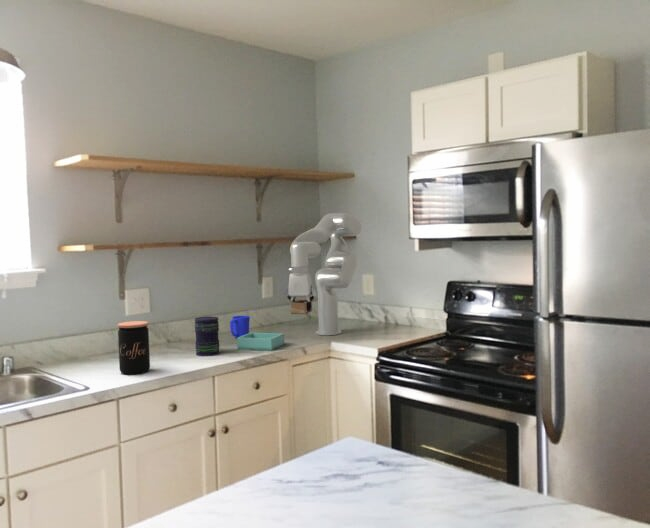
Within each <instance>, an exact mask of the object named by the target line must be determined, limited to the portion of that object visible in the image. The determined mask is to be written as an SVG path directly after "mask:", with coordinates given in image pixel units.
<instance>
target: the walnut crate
mask: <svg viewBox="0 0 650 528" xmlns="http://www.w3.org/2000/svg"><path fill="white" fill-rule="evenodd" d="M307 302H308V301H307V299H303V300H302V299H299V300H298V299H297V300H295V301H294V302H292V303H291V302H290V314H291V315H306V314H309V313H311V312H313V310H312V308H313V307H312V308H311V310H310V311H307ZM312 302H313V300H312V301H311V305H312V304H313V303H312Z"/></svg>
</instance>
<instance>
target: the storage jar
mask: <svg viewBox="0 0 650 528" xmlns="http://www.w3.org/2000/svg"><path fill="white" fill-rule="evenodd" d="M219 327H220V324H219V317H217V316H202V317H201V316H199V317H195V318H194V332H195V351H196V352H195V356H197V357H211V356H212V357H213V356H217V355H220V354H221V353H220V346H221V345H220V340H219V332H220V331H219V330H220V328H219Z"/></svg>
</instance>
